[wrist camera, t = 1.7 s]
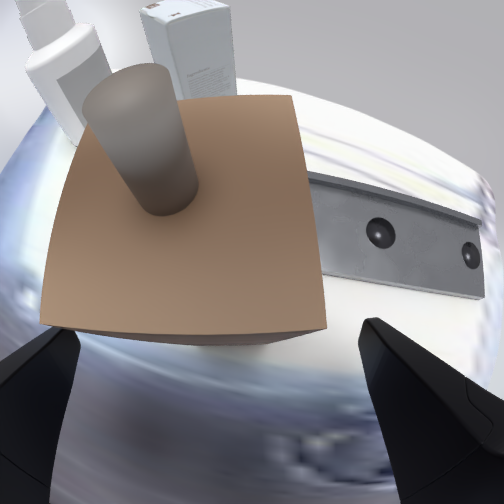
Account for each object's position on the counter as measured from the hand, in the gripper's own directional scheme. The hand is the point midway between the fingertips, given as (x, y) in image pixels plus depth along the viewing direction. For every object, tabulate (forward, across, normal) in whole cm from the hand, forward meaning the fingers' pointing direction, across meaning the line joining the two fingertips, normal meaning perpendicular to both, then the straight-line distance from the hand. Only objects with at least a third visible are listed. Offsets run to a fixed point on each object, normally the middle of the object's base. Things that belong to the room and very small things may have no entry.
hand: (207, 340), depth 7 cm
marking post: (+8, 0, +6) cm, 10 cm away
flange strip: (+12, -11, +2) cm, 16 cm away
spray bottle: (+22, +14, -7) cm, 27 cm away
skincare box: (+20, +2, -6) cm, 21 cm away
